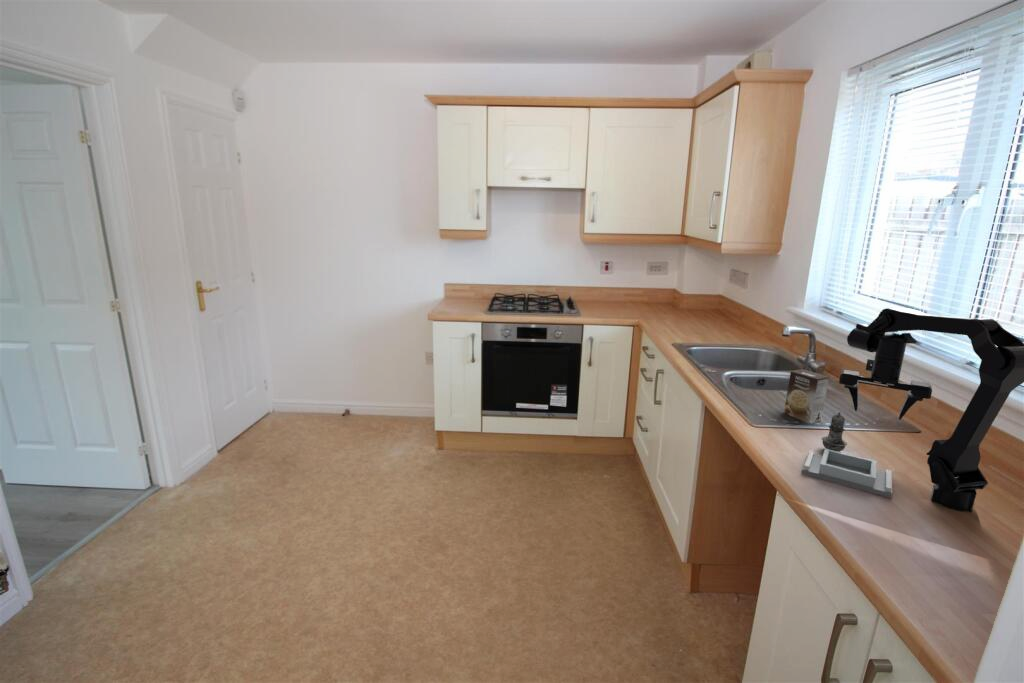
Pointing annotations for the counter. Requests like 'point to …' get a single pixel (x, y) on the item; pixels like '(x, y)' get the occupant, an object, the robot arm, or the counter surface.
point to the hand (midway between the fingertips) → (877, 414)
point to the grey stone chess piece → (835, 434)
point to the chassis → (849, 472)
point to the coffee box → (806, 395)
